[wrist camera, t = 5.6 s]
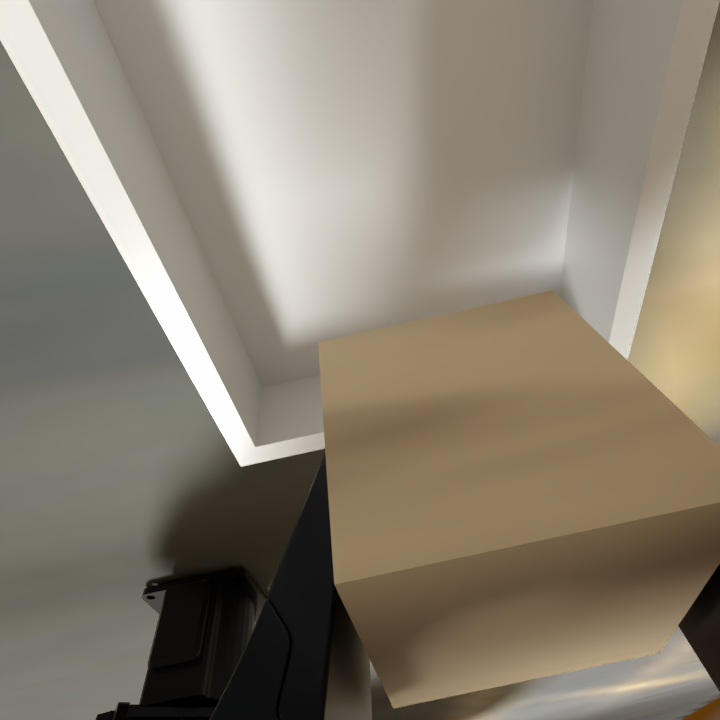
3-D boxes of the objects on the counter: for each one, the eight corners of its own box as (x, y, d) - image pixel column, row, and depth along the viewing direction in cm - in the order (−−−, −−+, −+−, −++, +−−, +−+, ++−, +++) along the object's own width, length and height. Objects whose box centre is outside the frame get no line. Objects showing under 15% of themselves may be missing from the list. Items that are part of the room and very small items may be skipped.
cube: (536, 447, 12) (659, 653, 8) (361, 485, 12) (393, 708, 8) (552, 290, 9) (768, 491, 5) (318, 342, 9) (334, 584, 5)
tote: (563, 324, 18) (621, 384, 15) (251, 392, 18) (240, 466, 15) (647, -322, 8) (861, -550, 5) (-5, -162, 9) (-183, -285, 5)
